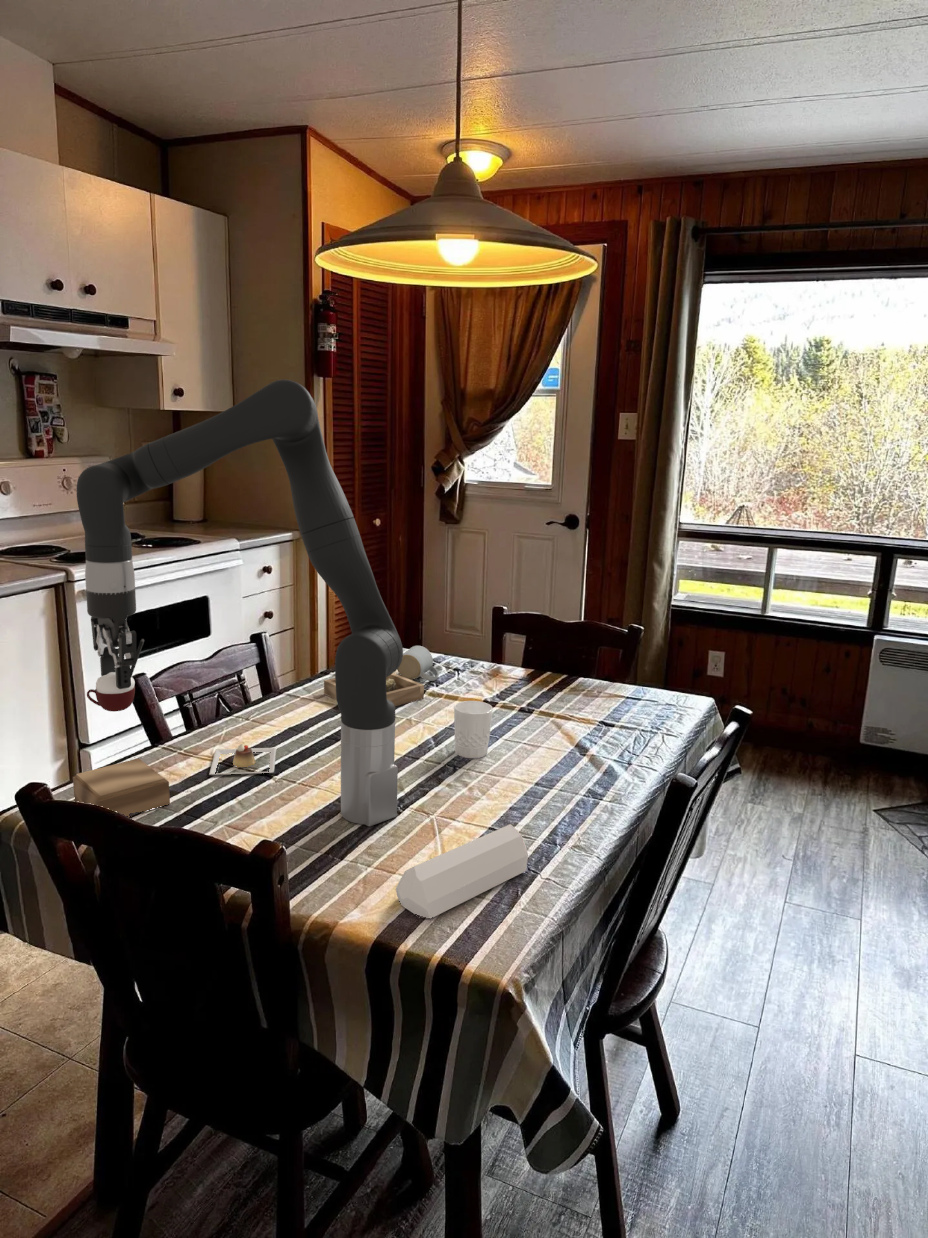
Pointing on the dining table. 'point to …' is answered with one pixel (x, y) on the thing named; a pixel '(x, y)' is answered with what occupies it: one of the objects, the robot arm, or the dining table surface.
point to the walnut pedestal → (123, 787)
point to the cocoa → (114, 690)
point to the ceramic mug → (417, 664)
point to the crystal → (463, 872)
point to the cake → (390, 685)
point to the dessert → (243, 758)
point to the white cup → (472, 728)
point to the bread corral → (402, 695)
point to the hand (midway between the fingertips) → (115, 682)
